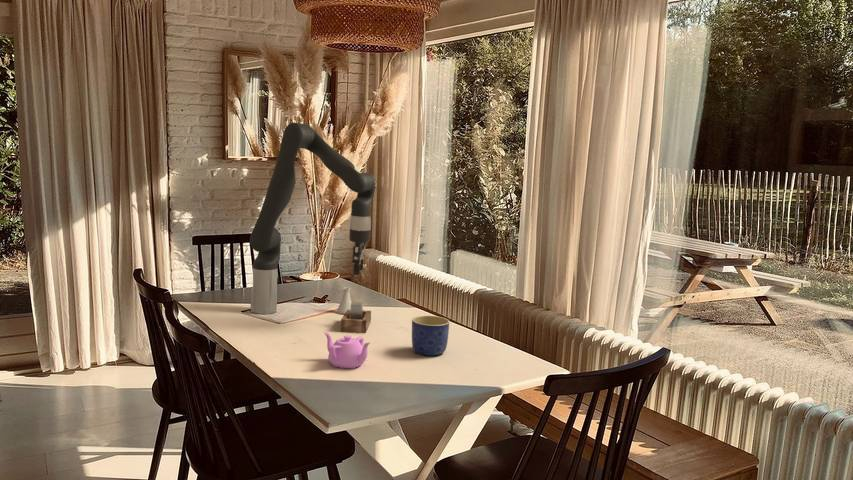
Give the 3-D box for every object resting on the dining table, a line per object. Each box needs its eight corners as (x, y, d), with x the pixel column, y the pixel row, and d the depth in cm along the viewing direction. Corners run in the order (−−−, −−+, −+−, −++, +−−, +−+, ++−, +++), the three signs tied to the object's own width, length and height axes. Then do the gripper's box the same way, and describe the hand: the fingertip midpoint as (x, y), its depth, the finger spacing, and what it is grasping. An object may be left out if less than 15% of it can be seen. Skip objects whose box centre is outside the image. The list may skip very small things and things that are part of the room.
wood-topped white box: (349, 328, 258) (350, 304, 256) (351, 325, 261) (352, 301, 260) (360, 328, 257) (361, 304, 256) (362, 325, 261) (363, 302, 260)
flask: (356, 311, 283) (357, 286, 281) (352, 315, 276) (353, 290, 274) (338, 309, 283) (339, 285, 282) (334, 314, 276) (335, 289, 275)
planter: (420, 359, 225) (422, 326, 224) (404, 348, 236) (405, 316, 235) (454, 355, 231) (456, 323, 230) (436, 345, 242) (438, 314, 240)
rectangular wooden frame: (340, 331, 252) (341, 319, 251) (347, 320, 267) (347, 309, 266) (365, 333, 252) (366, 321, 251) (370, 322, 267) (371, 310, 266)
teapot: (369, 370, 213) (370, 341, 212) (323, 370, 211) (324, 341, 209) (366, 357, 224) (368, 330, 223) (323, 357, 222) (323, 330, 221)
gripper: (352, 225, 261) (350, 268, 264) (346, 230, 247) (344, 275, 249) (372, 226, 261) (370, 269, 263) (368, 231, 247) (365, 276, 249)
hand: (358, 272), depth 256 cm, fingers open, 8 cm apart
